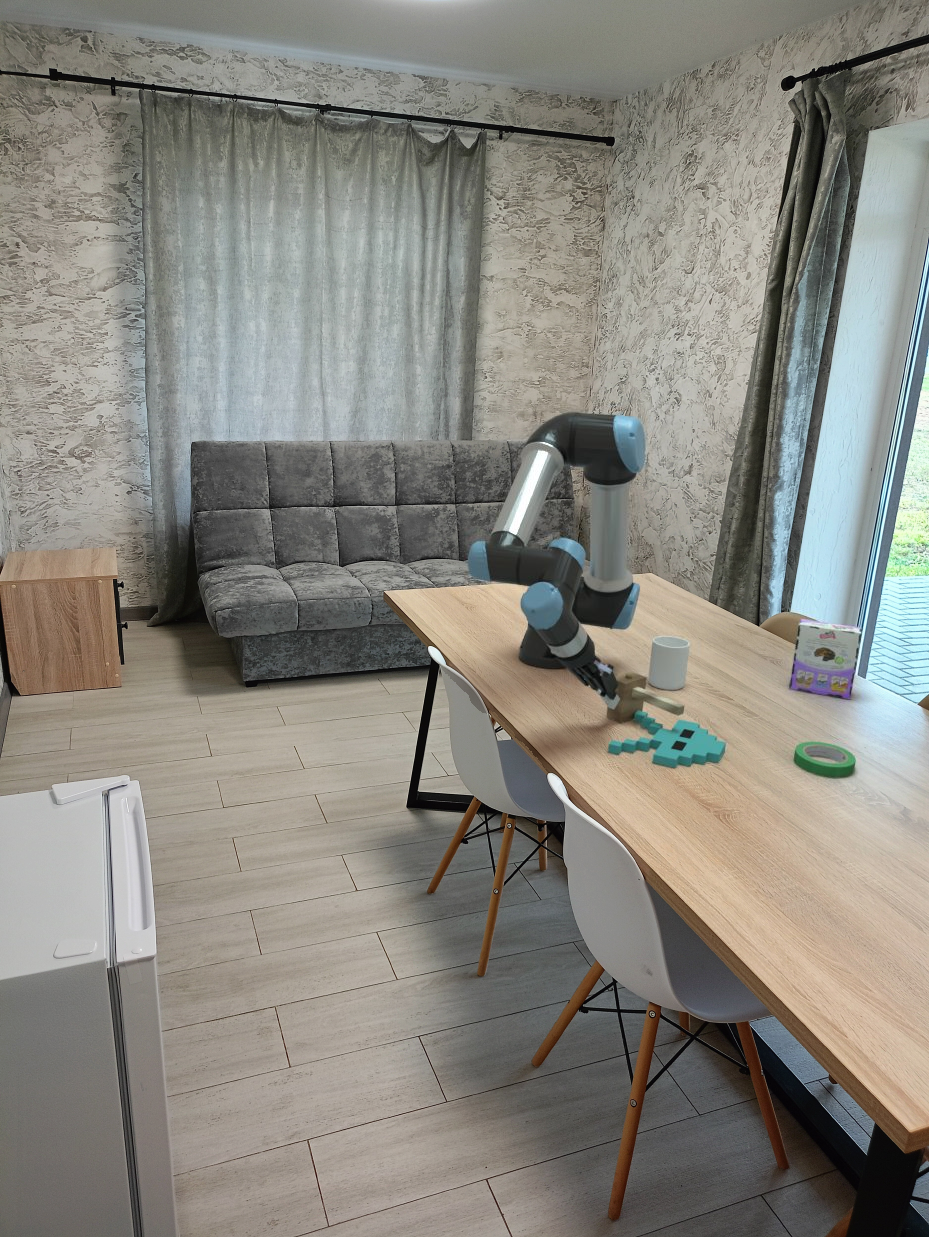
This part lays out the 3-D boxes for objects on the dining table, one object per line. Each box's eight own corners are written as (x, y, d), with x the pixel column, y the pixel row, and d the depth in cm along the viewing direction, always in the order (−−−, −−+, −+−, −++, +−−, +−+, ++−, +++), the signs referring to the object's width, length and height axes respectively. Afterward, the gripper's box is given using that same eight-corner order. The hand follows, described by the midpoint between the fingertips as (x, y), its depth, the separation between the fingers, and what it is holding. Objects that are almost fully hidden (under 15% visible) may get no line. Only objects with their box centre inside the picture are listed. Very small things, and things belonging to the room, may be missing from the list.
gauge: (606, 716, 194) (611, 674, 191) (627, 709, 199) (632, 668, 196) (666, 744, 183) (672, 699, 180) (687, 735, 187) (693, 692, 184)
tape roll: (847, 784, 169) (850, 771, 168) (787, 768, 175) (789, 755, 174) (858, 763, 178) (860, 751, 177) (800, 748, 184) (802, 736, 183)
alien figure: (607, 754, 178) (710, 778, 169) (608, 743, 177) (711, 767, 169) (636, 720, 195) (731, 740, 186) (637, 710, 194) (732, 730, 186)
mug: (675, 673, 223) (679, 631, 220) (689, 691, 211) (694, 647, 208) (640, 672, 222) (645, 631, 219) (653, 690, 211) (657, 647, 208)
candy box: (851, 692, 215) (863, 626, 211) (850, 700, 210) (862, 633, 205) (790, 681, 221) (800, 617, 216) (788, 689, 216) (798, 623, 211)
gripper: (534, 649, 177) (581, 708, 193) (586, 667, 169) (631, 727, 185) (554, 619, 179) (598, 679, 196) (606, 635, 171) (648, 697, 187)
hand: (614, 703), depth 190 cm, fingers closed
